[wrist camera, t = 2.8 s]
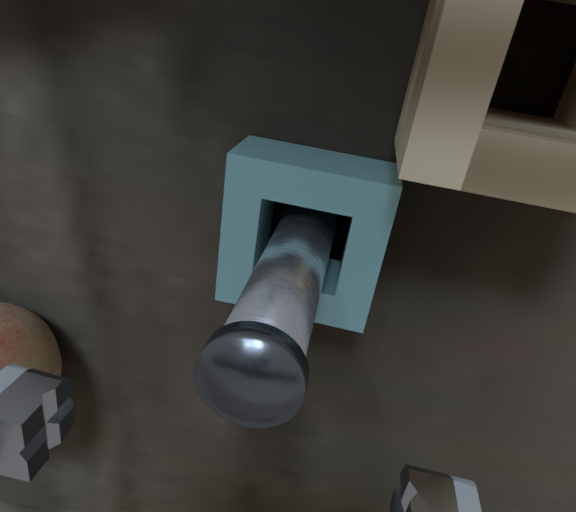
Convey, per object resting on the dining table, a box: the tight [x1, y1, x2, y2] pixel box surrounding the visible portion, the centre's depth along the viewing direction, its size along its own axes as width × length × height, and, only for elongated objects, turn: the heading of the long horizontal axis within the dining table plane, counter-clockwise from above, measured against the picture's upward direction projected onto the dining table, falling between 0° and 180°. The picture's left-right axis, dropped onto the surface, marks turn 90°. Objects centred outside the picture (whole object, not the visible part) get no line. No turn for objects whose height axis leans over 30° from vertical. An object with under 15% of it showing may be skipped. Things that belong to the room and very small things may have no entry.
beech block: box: [394, 0, 576, 213], centre depth 15 cm, size 8×8×6 cm
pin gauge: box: [194, 204, 337, 428], centre depth 17 cm, size 3×3×12 cm
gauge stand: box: [215, 135, 403, 333], centre depth 21 cm, size 7×7×4 cm
